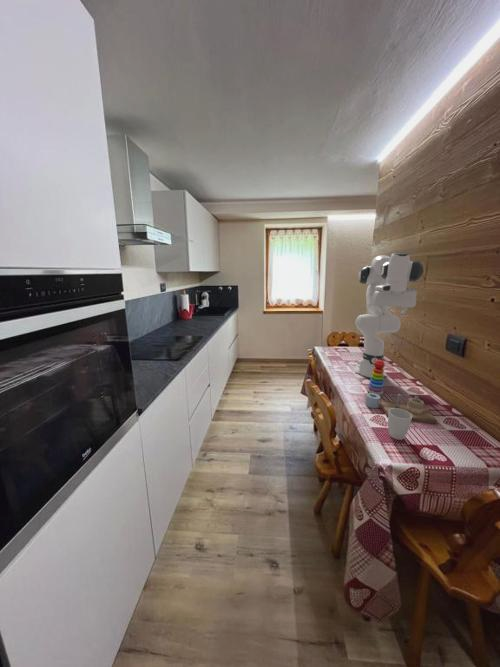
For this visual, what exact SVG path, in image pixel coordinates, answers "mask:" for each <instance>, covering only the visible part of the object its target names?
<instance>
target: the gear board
mask: <svg viewBox="0 0 500 667" xmlns="http://www.w3.org/2000/svg"><path fill="white" fill-rule="evenodd" d="M401 399H402V394H401V393H398V394H397V398H396V401H391V400H383V399H380V404H379V405H381V406H380V407H381V408H382V410H383V411H384V413H385V415H386V418H388V414H389V409H391V408H398V409H402V410H405V411H407V412H409V413H411V414H412V420H411V421H414V422H420V423H421V422H423V423H429V424H436V425H437V423H438V420H437V418H436V417H435V416H434V415H433V413H432V412H431V411H430V410H429V409H428V407H427V406H426V405H425V402H424V400H422V399H420V398H419V396H418V395H415V396H414V397H408V398H407V402H401Z"/></svg>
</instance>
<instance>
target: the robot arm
mask: <svg viewBox="0 0 500 667" xmlns="http://www.w3.org/2000/svg"><path fill="white" fill-rule="evenodd" d="M423 274H424V266H423V264H422V263H421V262H420V261H419V260H413V261H412V260H411V258H410V254H409V253H407V252H394V253H391V255H390V256H388V255H386V254H385V255H384V254H381V255H380V254H379V255H377V256H375V257H374V258H373V259H372V260H371V264H370V266H368V264H367V265H365V267H363V268H361V269H359V272H358V278H357V279H358V282H359V283H360V284H362V285H368V286H367V288H366V293H365V301H366V302H365V303H366V310H367V311H368V312H369V313H367V314H365V313H364V314H359V315H358V316H357V317H356V319H355V321H354V322H355V327H356V329H357V330H358V332H359V331H360V333H361V335H362V336H363V338H364V350H363V353H362V357H361V358H360V360H357V364H356V366H355V370H354V373H355V374H358V375H361V376H362V377H366V378H369V379H371V375H372V372H373V369H374V368H376V367H375V366H374V362H375V361H376V360H382V361H383V362H384V351H385V341H384V340H383V339H381V338H379V337H378V336H377V333H382V334H383V333H384V334H391V333H397V332H398V331H399V330H400V329H401V327H402V326H401V324H402V322H401V320H400V318H399V317H404V316H405V314H406V312H407V310H408V308H415V307H416V305H417V294H418V291H417V290H416V289H415V287H407V285H408V282H411V283H412V282H413V283H415V282H416V281H418V280H419V279H420V278H421V277H422V276H423ZM388 307H389V308H391V307H392V308H394V307H395V308H401V309H402V310H401V311H400V312H398V316H396V315H394V314H393V313H392V312H391V311H390V310H389V309H388ZM384 364H385V365H384V367H383V368H382V369H383V370H384V371H383V378H384V377H387V373H386V372H385V370H386V369H385V367H386V363H385V362H384Z"/></svg>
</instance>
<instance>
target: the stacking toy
mask: <svg viewBox="0 0 500 667" xmlns="http://www.w3.org/2000/svg"><path fill="white" fill-rule="evenodd" d="M384 363H385V362H384V360H383V361H382V360H376V361H375V362H374V366H375V367H376V368H374V369H373V372H372V375H371V378H369V379H370V381H369V382H368V385H367V388H366V390H367V391H366V392H368V393H374V394H377V395H379V396H382V395H384V388H383V387H384V377H383V371H384V372H385V370H383V369H382V368H383V367H384V365H385V366H386V363H385V364H384Z"/></svg>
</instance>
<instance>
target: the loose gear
mask: <svg viewBox="0 0 500 667" xmlns="http://www.w3.org/2000/svg"><path fill="white" fill-rule="evenodd" d="M380 400H381V395H377V394H374V393H369V392H368V393H366V394H365V401H364V404H365V406H366V407H368V408H370V407H371V409H378V408H380V405H381V404H380Z"/></svg>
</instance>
